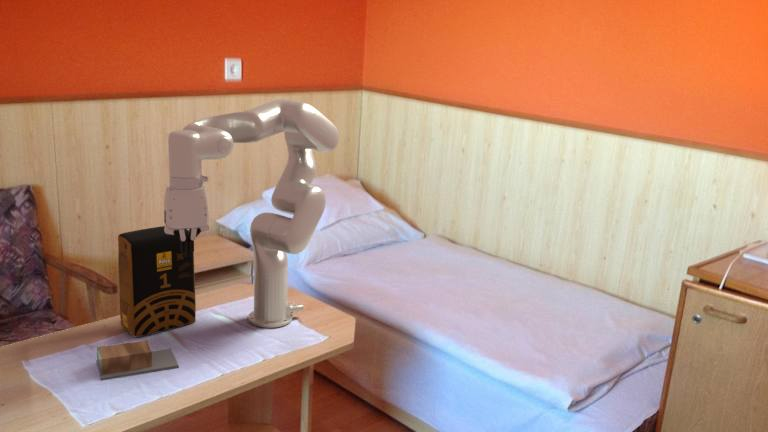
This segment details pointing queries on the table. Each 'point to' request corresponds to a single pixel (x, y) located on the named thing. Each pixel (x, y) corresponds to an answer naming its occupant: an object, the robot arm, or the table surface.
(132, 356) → the block
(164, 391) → the table surface
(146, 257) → the black tall two-tone box
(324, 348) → the table surface
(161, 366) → the mat
